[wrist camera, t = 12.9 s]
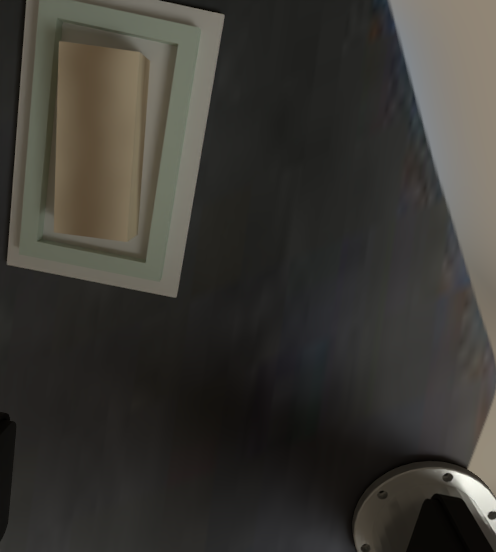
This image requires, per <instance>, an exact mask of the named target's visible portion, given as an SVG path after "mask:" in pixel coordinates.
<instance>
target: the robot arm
mask: <svg viewBox="0 0 496 552" xmlns="http://www.w3.org/2000/svg"><path fill="white" fill-rule="evenodd" d="M15 437H16V423H15V422H13V421H10V417H9V415H8V414H7V413H3V412H0V541H1V539H2V537H3V535H4V533H5V530H6V528H7V524H8V517H9V505H10V494H11V482H12V471H13V459H14V448H15ZM352 534H353V538H354V542H355V547H356V549H357V552H496V498H495V496H494V495H493V493H492V492H491V490H490V489H489V487H488V486H487V485H486V484H485V483H484V482H483V481H482V480H481V479H480V478H479V477H478V476H476V475H475V474H473V473H472V472H470V471H469V470H467V469H465V468H462V467H460V466H458V465H454V464H450V463H446V462H438V461H424V462H414V463H410V464H407V465H403V466H400V467H398V468H395V469H393V470H391V471H389V472H387V473H385V474H384V475H382V476H381V477H380V478H378V479H377V480H375V481H374V482H373V483H372V484H371V485H370V486H369V487H368V488H367V489H366V490H365V492H364V493H363V495H362V496H361V498H360V499H359V501H358V503H357V506H356V508H355V510H354V515H353V520H352Z"/></svg>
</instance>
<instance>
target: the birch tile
mask: <svg viewBox="0 0 496 552" xmlns="http://www.w3.org/2000/svg"><path fill="white" fill-rule="evenodd" d="M149 71H150V60H148V59H147V58H146V57H145V56H144V55H143V54H141V53H140V52H136V51H129V50H122V49H114V48H107V47H100V46H92V45H85V44H78V43H70V42H63V41H59V54H58V91H57V129H56V166H55V204H54V233H62V234H70V235H77V236H85V237H93V238H100V239H108V240H116V241H123V242H128V241H129V240H131V239H132V238H134V237H135V236H137V235H138V224H139V210H140V196H141V182H142V168H143V154H144V140H145V126H146V112H147V98H148V84H149Z"/></svg>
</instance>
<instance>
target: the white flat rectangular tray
mask: <svg viewBox="0 0 496 552" xmlns="http://www.w3.org/2000/svg"><path fill="white" fill-rule="evenodd" d="M224 17H225V16H224V14H219V13H215V12H210V11H205V10H201V9H196V8H192V7H187V6H182V5H178V4H173V3H168V2H164V1H159V0H26V13H25V26H24V40H23V53H22V67H21V80H20V94H19V107H18V121H17V134H16V148H15V161H14V175H13V188H12V202H11V215H10V228H9V242H8V255H7V265H11V266H16V267H21V268H26V269H31V270H37V271H42V272H47V273H52V274H57V275H62V276H67V277H72V278H77V279H82V280H88V281H93V282H98V283H103V284H108V285H113V286H118V287H123V288H128V289H133V290H139V291H144V292H149V293H154V294H159V295H164V296H169V297H174V298H176V297H177V293H178V287H179V282H180V276H181V270H182V264H183V258H184V252H185V246H186V240H187V234H188V229H189V223H190V217H191V211H192V205H193V199H194V193H195V187H196V182H197V176H198V170H199V164H200V158H201V152H202V146H203V140H204V134H205V129H206V123H207V117H208V111H209V105H210V99H211V93H212V87H213V82H214V76H215V70H216V64H217V58H218V52H219V46H220V40H221V35H222V29H223V23H224ZM59 41H63V42H70V43H78V44H85V45H92V46H100V47H107V48H114V49H122V50H129V51H136V52H140V53H141V54H143V55H144V56H145V57H146V58H147V59H148V60H150V71H149V84H148V98H147V112H146V126H145V140H144V154H143V168H142V182H141V196H140V210H139V224H138V235H137V236H135V237H134V238H132V239H131V240H129V241H128V242H123V241H116V240H108V239H100V238H93V237H85V236H77V235H70V234H62V233H54V204H55V166H56V129H57V91H58V54H59Z"/></svg>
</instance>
